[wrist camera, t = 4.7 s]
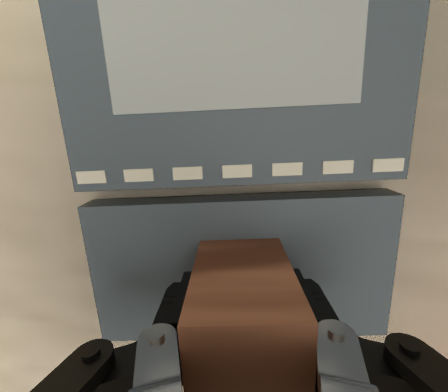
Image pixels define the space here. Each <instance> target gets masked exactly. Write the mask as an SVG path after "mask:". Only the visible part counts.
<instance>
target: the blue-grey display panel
mask: <svg viewBox="0 0 448 392" xmlns="http://www.w3.org/2000/svg"><path fill="white" fill-rule="evenodd" d="M38 2H39V7H40V12H41V18H42V23H43V28H44V33H45V39H46V44H47V49H48V54H49V60H50V65H51V70H52V75H53V81H54V86H55V91H56V97H57V102H58V107H59V112H60V118H61V123H62V128H63V133H64V139H65V144H66V149H67V154H68V160H69V165H70V170H71V175H72V181H73V186H74V191H75V192H85V191H110V190H136V189H161V188H187V187H212V186H238V185H263V184H288V183H314V182H339V181H365V180H390V179H407V175H408V167H409V159H410V152H411V144H412V136H413V128H414V121H415V113H416V105H417V98H418V90H419V82H420V75H421V67H422V59H423V51H424V44H425V36H426V28H427V21H428V13H429V5H430V0H38Z"/></svg>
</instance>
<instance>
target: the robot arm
mask: <svg viewBox="0 0 448 392" xmlns="http://www.w3.org/2000/svg"><path fill="white" fill-rule="evenodd" d="M293 270H294V272H295V274H296V276H297V278H298V281H299V283H300V285H301V287H302V289H303V291H304V294H305V296H306V298H307V300H308V302H309V304H310V307H311V309H312V311H313V313H314V315H315V317H316V320H317V322H318V343H317V351H316V382H315V392H448V359H446V358H445V357H444V356H442V355H441V354H440V353H438V352H437V351H435V350H434V349H433V348H431V347H430V346H429V345H427V344H426V343H424V342H423V341H421V340H420V339H418V338H416V337H413V336H411V335H408V334H403V333H392V334H389V335H388V336H386V338H385V343H380V342H376V341H371V340H367V339H363V338H360V337H358V336H357V333H356V332H355V331H354V329H353V328H352V327H350V326H349V325H348V324H346V323H344V322H341V321H340V320H339V318H338V316H337V315H336V313H335V311H334V310H333V308H332V306H331V304H330V303H329V301H328V300H327V298H326V296H325V294H324V293H323V291H322V289H321V287H320V286H319V284H317V283H316V282H315V281H313V280H312V279H304V278H303V276H302V274H301V272H300V270H299V269H298V268H293ZM191 273H192V271H186V272H184V273H183V276H182V280H181V282H173V283H172V284H171V285H170V286H169V287H168V288H167V289H166V291H165V293H164V296H163V299H162V301H161V304H160V306H159V309H158V311H157V314H156V316H155V319H154V321H153V324H152V325H151V326H149V327H147V328H146V329H145V330H143V331H142V332H141V334H140V335H139V337H138V339H137V341H136V342H134V343H132V344H129V345H125V346H122V347H118V348H115V349H114V348H113V344H112V342H111V341H109V340H107V339H95V340H91V341H89V342H86V343H85V344H83V345H81V346H80V347H78V348H77V349H76V350H75V351H74V352H73V353H72V354H71V355H69V356H68V357H67V358H66V359H65V360H64V361H63V362H62V363H61V364H60V365H59V366H57V367H56V368H55V369H54V370H53V371H52V372H51V373H50V374H49V375H48V376H47V377H45V378H44V379H43V380H42V381H41V382H40V383H39V384H38V385H37V386H36V387H35V388H33V389H32V390H31V391H30V392H183V391H182V386H183V379H182V369H181V360H180V350H179V341H178V331H177V326H178V322H179V318H180V314H181V311H182V307H183V303H184V299H185V296H186V292H187V288H188V284H189V281H190V277H191Z"/></svg>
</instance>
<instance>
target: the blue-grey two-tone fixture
mask: <svg viewBox="0 0 448 392" xmlns="http://www.w3.org/2000/svg"><path fill="white" fill-rule="evenodd" d="M404 198H405V195H403V194H400V193H397V192H395V191H392V190H389V189H387V188H386V189H360V190H334V191H307V192H281V193H255V194H229V195H203V196H177V197H151V198H125V199H99V200H91V201H89V202H87V203H85V204H83V205H82V206H80V207H78V212H79V218H80V223H81V228H82V233H83V239H84V244H85V249H86V254H87V260H88V265H89V270H90V275H91V281H92V286H93V291H94V296H95V302H96V307H97V312H98V317H99V323H100V328H101V333H102V339H107V340H109V341H127V340H137V339H138V337H139V335H140V334H141V332H142V331H143V330H145V329H146V328H147V327H149V326H151V325H152V324H153V321H154V319H155V316H156V314H157V311H158V309H159V306H160V304H161V301H162V299H163V296H164V293H165V291H166V289H167V288H168V287H169V286H170V285H171V284H172V283H173V282H181V280H182V276H183V273H184V272H186V271H192V273H191V277H190V281H189V284H188V288H187V292H186V296H185V299H184V303H183V307H182V311H181V314H180V318H179V322H178V326H177V331H178V341H179V350H180V360H181V369H182V379H183V389H184V392H315V382H316V351H317V343H318V322H317V320H316V317H315V315H314V313H313V311H312V309H311V307H310V304H309V302H308V300H307V298H306V296H305V294H304V291H303V289H302V287H301V285H300V283H299V281H298V278H297V276H296V274H295V272H294V270H293V268H298V269H299V270H300V272H301V274H302V276H303V278H304V279H312V280H313V281H315V282H316V283H317V284H319V286H320V287H321V289H322V291H323V293H324V294H325V296H326V298H327V300H328V301H329V303H330V304H331V306H332V308H333V310H334V311H335V313H336V315H337V316H338V318H339V320H340V321H341V322H344V323H346V324H348V325H349V326H350V327H352V328H353V329H354V331H355V332H356V333H357V336H360V335H387V329H388V321H389V313H390V306H391V298H392V290H393V283H394V275H395V267H396V259H397V252H398V244H399V236H400V229H401V221H402V213H403V206H404Z"/></svg>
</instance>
